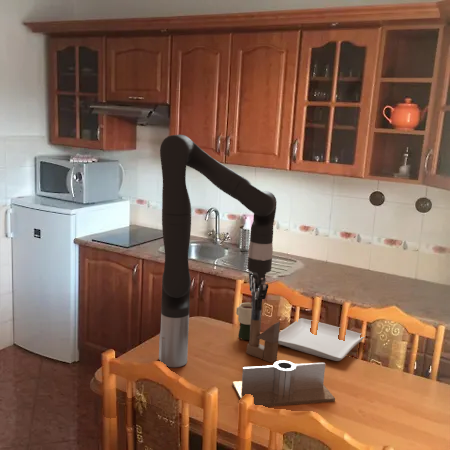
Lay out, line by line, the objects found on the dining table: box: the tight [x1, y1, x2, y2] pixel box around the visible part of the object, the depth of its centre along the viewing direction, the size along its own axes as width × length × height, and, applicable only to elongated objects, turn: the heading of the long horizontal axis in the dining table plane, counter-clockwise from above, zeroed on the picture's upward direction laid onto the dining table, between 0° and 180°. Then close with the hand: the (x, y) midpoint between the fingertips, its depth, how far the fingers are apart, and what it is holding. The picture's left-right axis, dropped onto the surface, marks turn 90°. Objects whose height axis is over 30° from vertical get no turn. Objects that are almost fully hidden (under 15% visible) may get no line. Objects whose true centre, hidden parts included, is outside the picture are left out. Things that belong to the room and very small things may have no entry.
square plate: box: [278, 317, 365, 362], centre depth 199 cm, size 27×27×4 cm
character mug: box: [235, 302, 252, 341], centre depth 200 cm, size 11×7×13 cm, turn 50°
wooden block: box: [246, 308, 281, 364], centre depth 184 cm, size 4×11×18 cm, turn 52°
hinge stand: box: [232, 360, 336, 408], centre depth 161 cm, size 28×14×9 cm, turn 103°
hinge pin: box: [251, 288, 261, 321], centre depth 168 cm, size 3×3×10 cm
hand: (256, 308), depth 168 cm, fingers closed on hinge pin, 2 cm apart
